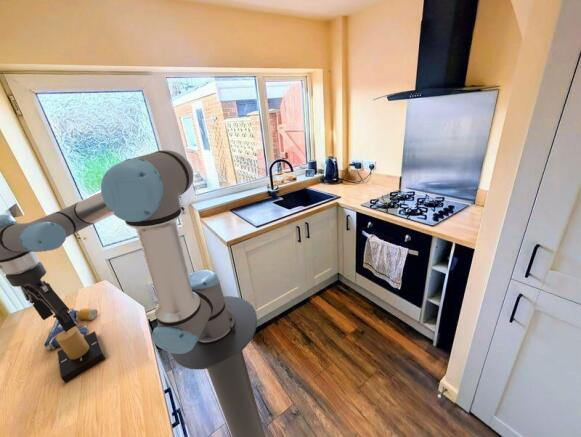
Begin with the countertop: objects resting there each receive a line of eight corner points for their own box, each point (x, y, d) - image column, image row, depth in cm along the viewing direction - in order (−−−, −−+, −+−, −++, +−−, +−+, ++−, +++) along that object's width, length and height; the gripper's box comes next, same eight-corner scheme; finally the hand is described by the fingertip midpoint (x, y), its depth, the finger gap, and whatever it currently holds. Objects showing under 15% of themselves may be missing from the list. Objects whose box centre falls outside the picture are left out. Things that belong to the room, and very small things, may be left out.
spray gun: (102, 304, 110) (61, 319, 104) (97, 297, 108) (55, 311, 103) (93, 338, 93) (43, 358, 88) (88, 331, 91) (37, 350, 86)
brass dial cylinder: (90, 351, 84) (78, 331, 80) (70, 362, 81) (56, 343, 77) (87, 341, 88) (75, 323, 84) (68, 353, 84) (54, 333, 80)
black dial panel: (106, 358, 84) (102, 352, 83) (65, 383, 77) (60, 377, 76) (98, 336, 93) (94, 330, 92) (61, 357, 87) (57, 351, 85)
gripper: (-14, 267, 72) (25, 321, 80) (26, 285, 61) (66, 343, 70) (20, 254, 78) (53, 304, 87) (61, 267, 68) (94, 323, 76)
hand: (59, 322), depth 78 cm, fingers open, 13 cm apart
